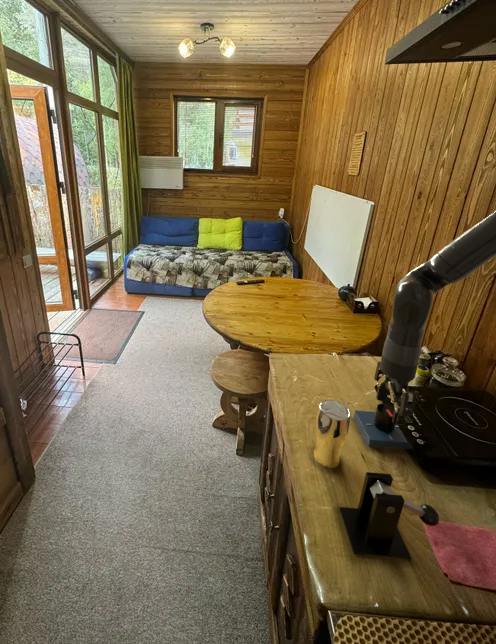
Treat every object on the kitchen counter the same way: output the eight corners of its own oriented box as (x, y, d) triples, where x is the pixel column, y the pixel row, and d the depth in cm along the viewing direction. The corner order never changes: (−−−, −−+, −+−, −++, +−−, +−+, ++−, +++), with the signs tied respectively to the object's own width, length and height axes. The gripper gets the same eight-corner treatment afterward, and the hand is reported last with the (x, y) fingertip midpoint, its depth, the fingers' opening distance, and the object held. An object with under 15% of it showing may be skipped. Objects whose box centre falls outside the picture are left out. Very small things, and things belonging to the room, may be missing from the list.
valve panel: (393, 421, 86) (395, 412, 85) (413, 452, 77) (416, 442, 76) (353, 419, 87) (354, 409, 86) (367, 449, 77) (370, 439, 76)
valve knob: (370, 418, 83) (373, 402, 81) (388, 419, 83) (391, 402, 81) (378, 432, 79) (382, 415, 77) (397, 433, 78) (402, 416, 77)
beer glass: (304, 452, 76) (312, 403, 71) (326, 443, 79) (335, 395, 74) (325, 477, 70) (334, 424, 65) (348, 466, 73) (358, 415, 68)
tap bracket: (388, 515, 62) (401, 467, 58) (410, 562, 55) (427, 511, 51) (338, 510, 63) (347, 463, 59) (352, 557, 55) (364, 506, 51)
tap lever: (424, 514, 58) (436, 504, 57) (435, 533, 55) (447, 522, 54) (366, 486, 57) (377, 476, 56) (374, 504, 54) (385, 493, 53)
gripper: (435, 374, 67) (419, 434, 72) (400, 341, 81) (389, 393, 86) (399, 373, 68) (386, 432, 72) (371, 340, 81) (361, 391, 86)
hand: (388, 411), depth 79 cm, fingers open, 8 cm apart
